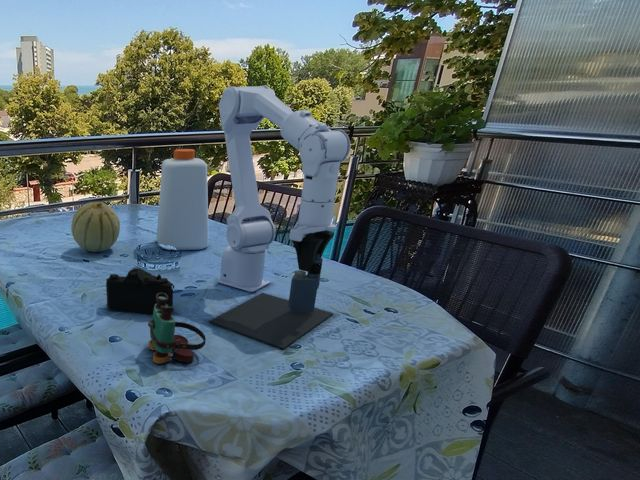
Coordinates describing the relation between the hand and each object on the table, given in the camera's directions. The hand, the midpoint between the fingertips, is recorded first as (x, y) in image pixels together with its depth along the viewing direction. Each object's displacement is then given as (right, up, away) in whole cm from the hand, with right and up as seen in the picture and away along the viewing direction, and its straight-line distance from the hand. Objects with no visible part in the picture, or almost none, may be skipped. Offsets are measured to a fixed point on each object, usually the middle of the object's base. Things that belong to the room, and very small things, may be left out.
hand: (307, 268), depth 92 cm
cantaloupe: (-43, +8, +49) cm, 66 cm away
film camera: (-32, -8, +11) cm, 35 cm away
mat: (-6, -10, +2) cm, 12 cm away
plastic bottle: (-17, +11, +52) cm, 56 cm away
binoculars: (-27, -16, -9) cm, 33 cm away
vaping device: (0, -8, +3) cm, 9 cm away
